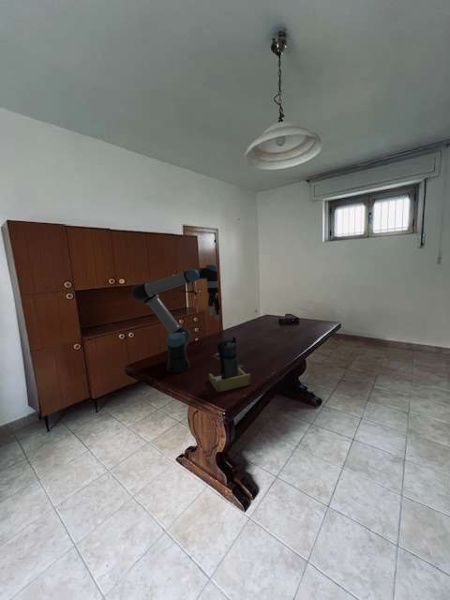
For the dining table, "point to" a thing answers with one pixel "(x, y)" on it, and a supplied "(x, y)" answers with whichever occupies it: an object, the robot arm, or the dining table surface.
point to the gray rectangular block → (241, 367)
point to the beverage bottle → (228, 358)
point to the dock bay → (230, 381)
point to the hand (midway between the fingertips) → (214, 317)
